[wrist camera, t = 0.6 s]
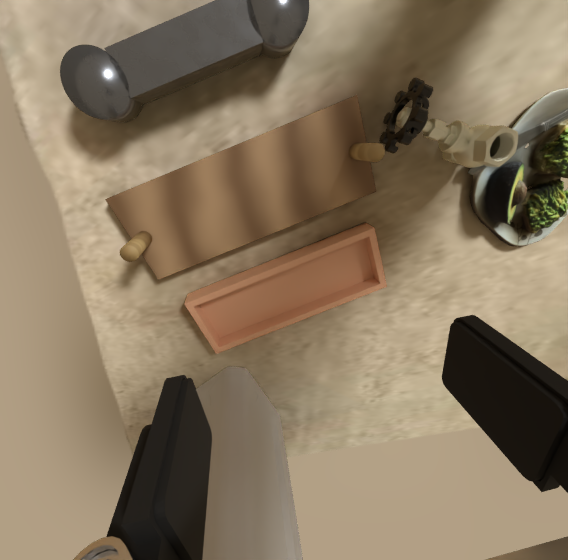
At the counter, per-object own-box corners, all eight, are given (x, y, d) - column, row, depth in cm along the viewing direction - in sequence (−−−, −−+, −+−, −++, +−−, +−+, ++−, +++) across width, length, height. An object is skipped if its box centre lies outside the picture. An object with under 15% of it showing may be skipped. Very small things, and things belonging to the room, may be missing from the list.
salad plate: (572, 30, 30) (626, 12, 26) (632, 138, 36) (682, 137, 32) (441, 186, 35) (468, 191, 31) (513, 256, 42) (543, 268, 38)
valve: (484, 122, 33) (396, 83, 30) (538, 117, 27) (436, 68, 24) (454, 179, 35) (371, 150, 32) (498, 186, 29) (402, 151, 26)
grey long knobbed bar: (288, -22, 25) (297, -50, 21) (306, 46, 27) (316, 31, 23) (72, 71, 25) (45, 59, 22) (107, 130, 27) (87, 128, 24)
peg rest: (351, 97, 29) (379, 85, 24) (370, 189, 34) (398, 198, 28) (111, 196, 30) (81, 209, 24) (161, 274, 35) (146, 300, 29)
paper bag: (296, 371, 45) (369, 654, 20) (275, 433, 51) (311, 712, 26) (170, 361, 40) (64, 709, 16) (163, 430, 46) (77, 765, 21)
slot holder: (365, 222, 36) (374, 227, 33) (378, 278, 40) (386, 286, 37) (187, 293, 36) (184, 304, 34) (217, 341, 40) (216, 353, 38)
